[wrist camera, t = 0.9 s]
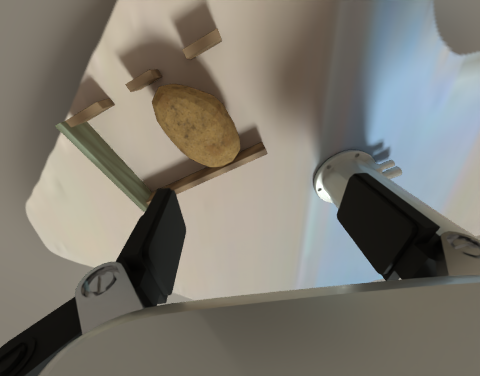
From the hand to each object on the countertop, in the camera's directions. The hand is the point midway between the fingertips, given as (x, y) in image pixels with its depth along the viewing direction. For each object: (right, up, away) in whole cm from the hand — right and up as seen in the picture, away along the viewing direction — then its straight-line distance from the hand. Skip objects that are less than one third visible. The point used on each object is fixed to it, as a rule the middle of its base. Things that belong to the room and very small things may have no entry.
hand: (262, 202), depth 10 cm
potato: (-8, +12, +21) cm, 26 cm away
